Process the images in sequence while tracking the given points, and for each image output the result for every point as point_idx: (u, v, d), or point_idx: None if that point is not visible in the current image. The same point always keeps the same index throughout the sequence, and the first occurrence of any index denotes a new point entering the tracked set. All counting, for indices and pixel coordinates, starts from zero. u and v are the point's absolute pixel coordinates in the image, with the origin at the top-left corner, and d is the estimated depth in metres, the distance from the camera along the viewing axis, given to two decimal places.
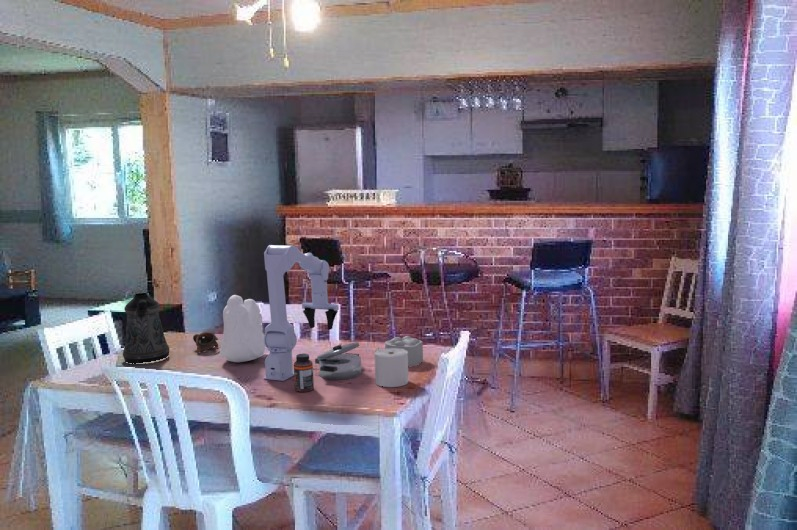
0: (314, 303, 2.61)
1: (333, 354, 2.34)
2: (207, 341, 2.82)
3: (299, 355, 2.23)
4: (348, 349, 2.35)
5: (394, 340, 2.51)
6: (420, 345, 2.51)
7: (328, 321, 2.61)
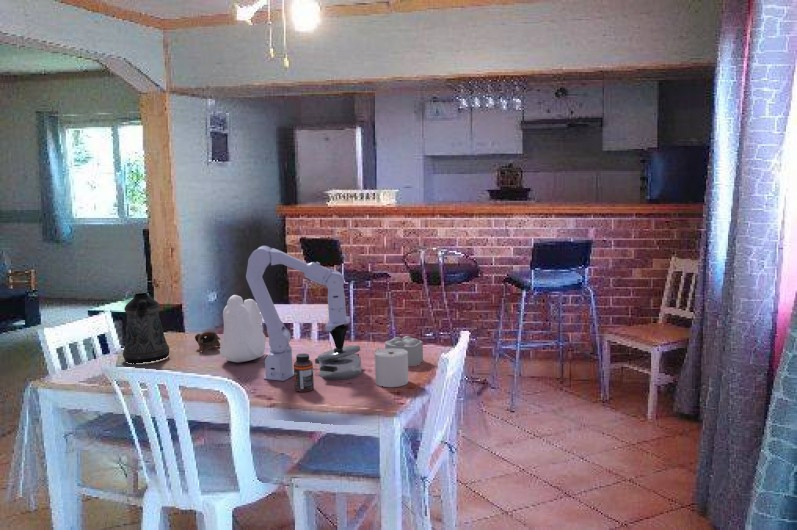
0: None
1: (334, 357, 2.34)
2: (209, 341, 2.83)
3: (299, 355, 2.23)
4: (349, 353, 2.35)
5: (394, 340, 2.51)
6: (420, 345, 2.51)
7: None
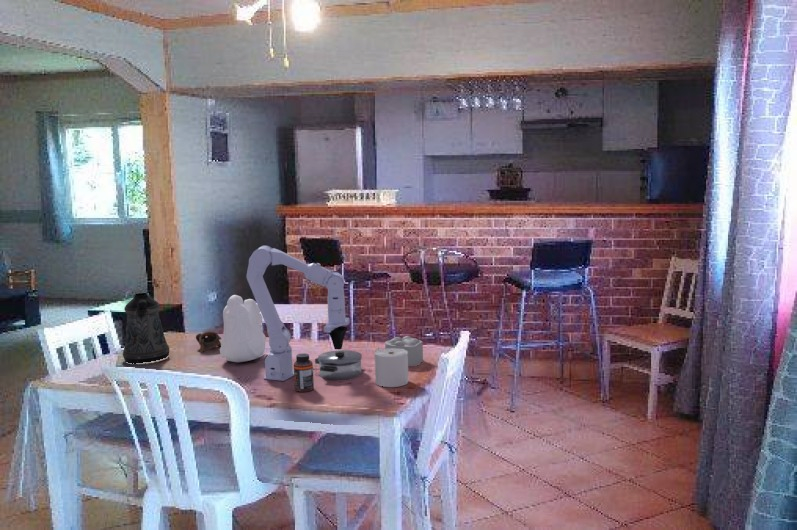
0: None
1: (335, 363, 2.34)
2: (210, 340, 2.83)
3: (299, 355, 2.23)
4: (351, 362, 2.35)
5: (394, 340, 2.51)
6: (420, 345, 2.51)
7: None
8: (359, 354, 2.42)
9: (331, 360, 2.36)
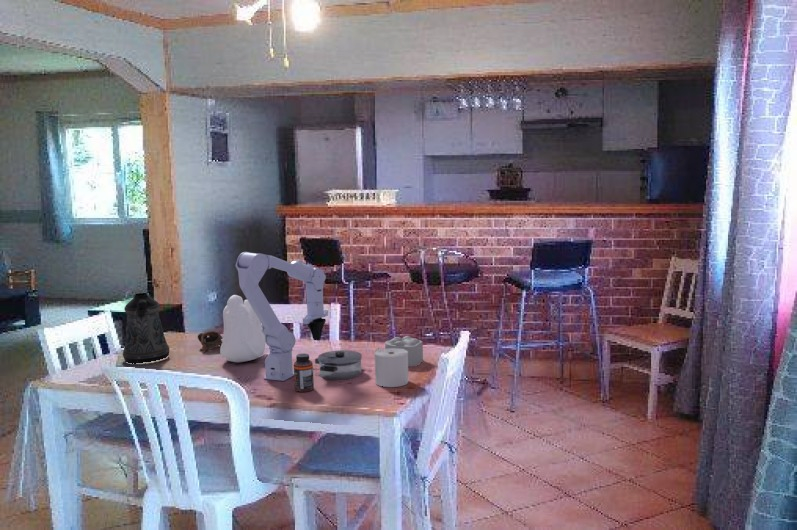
0: None
1: (335, 363, 2.34)
2: (212, 340, 2.83)
3: (299, 355, 2.23)
4: (351, 362, 2.35)
5: (394, 340, 2.51)
6: (420, 345, 2.51)
7: None
8: (359, 354, 2.42)
9: (331, 360, 2.36)
